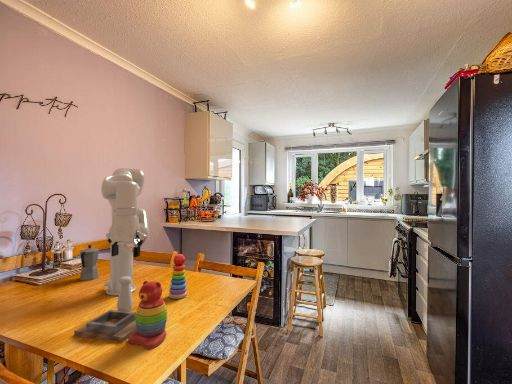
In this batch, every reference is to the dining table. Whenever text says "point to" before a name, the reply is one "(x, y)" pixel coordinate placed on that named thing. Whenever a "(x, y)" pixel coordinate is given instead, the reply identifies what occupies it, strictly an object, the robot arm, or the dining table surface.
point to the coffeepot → (89, 264)
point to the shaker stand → (110, 326)
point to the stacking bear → (150, 317)
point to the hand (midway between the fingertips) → (125, 256)
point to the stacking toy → (178, 279)
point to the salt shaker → (125, 295)
